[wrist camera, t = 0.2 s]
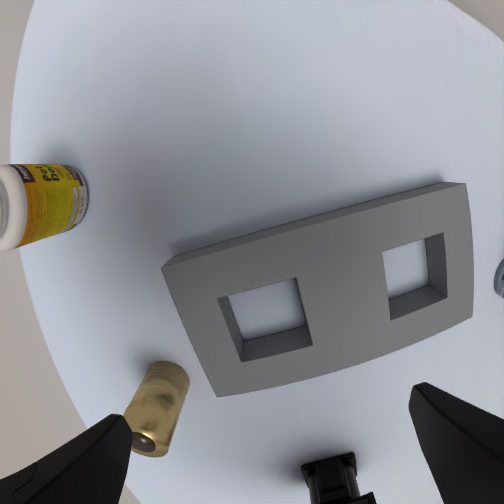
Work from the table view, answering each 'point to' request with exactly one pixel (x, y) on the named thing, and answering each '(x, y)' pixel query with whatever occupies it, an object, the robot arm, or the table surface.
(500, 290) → the vise
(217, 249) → the jig
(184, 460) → the table surface
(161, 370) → the cylinder
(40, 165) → the supplement bottle
